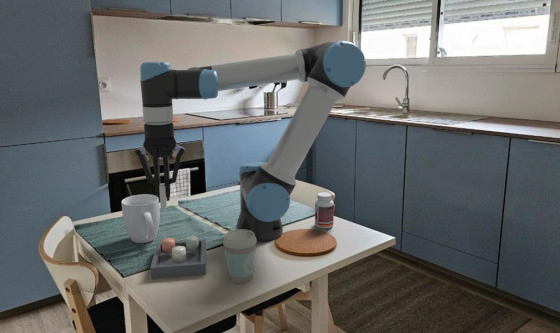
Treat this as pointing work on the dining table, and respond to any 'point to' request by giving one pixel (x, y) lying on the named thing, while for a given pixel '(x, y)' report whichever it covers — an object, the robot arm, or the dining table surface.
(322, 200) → the pill bottle
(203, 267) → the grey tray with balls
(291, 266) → the dining table surface
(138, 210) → the mug
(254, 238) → the coffee cup
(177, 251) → the button ivory
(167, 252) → the button coral
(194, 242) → the button sage
